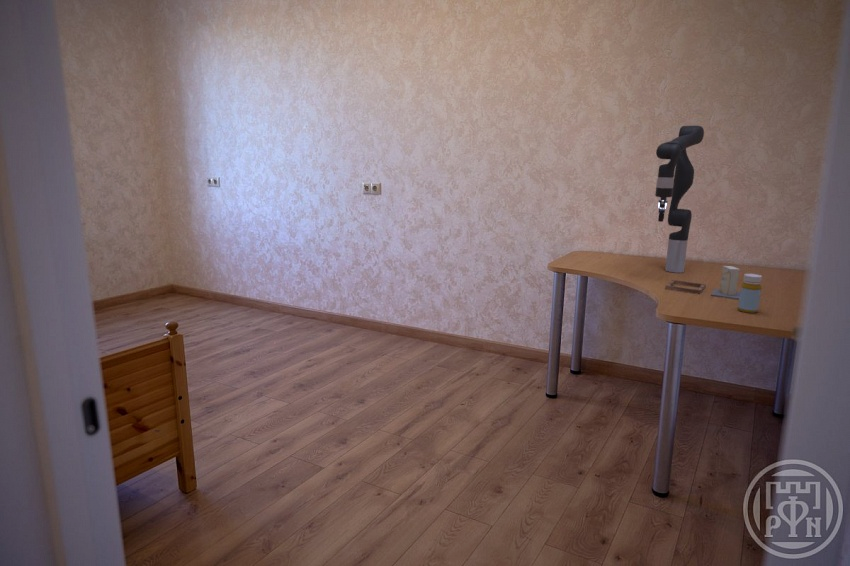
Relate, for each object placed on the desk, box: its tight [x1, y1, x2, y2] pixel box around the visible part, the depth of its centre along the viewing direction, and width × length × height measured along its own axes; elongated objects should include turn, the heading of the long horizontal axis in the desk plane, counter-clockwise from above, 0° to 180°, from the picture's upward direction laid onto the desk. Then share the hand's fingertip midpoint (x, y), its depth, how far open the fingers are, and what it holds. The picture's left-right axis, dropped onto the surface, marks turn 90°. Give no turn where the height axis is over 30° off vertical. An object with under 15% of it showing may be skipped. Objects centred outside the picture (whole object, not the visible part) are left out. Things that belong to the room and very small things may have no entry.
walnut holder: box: [664, 279, 706, 295], centre depth 264 cm, size 15×15×2 cm
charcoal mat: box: [710, 288, 741, 301], centre depth 254 cm, size 13×12×1 cm
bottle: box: [737, 273, 763, 314], centre depth 227 cm, size 7×7×15 cm
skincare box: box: [718, 265, 741, 295], centre depth 252 cm, size 6×4×12 cm
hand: (660, 220), depth 273 cm, fingers open, 8 cm apart
